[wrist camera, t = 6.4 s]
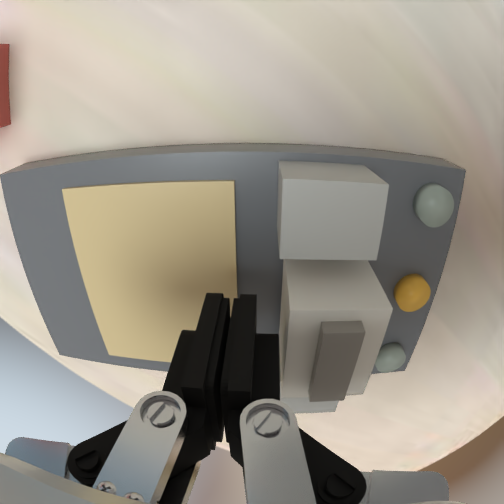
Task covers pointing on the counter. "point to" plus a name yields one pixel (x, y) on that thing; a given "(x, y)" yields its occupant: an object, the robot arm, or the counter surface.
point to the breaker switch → (330, 327)
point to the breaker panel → (222, 239)
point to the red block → (4, 86)
